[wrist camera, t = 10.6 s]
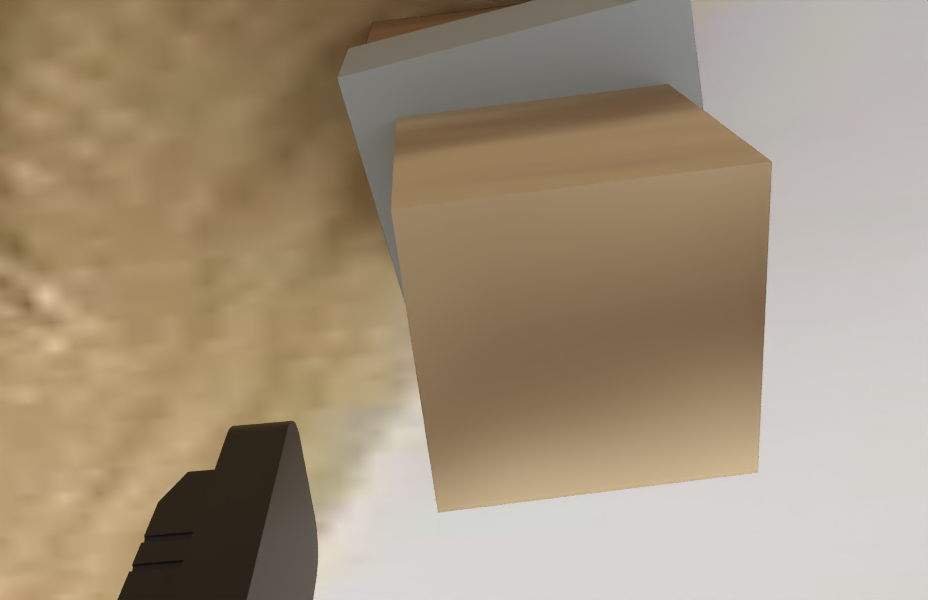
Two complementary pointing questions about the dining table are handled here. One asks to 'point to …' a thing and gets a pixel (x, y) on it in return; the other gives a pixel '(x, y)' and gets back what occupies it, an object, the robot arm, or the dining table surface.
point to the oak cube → (582, 293)
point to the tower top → (510, 69)
